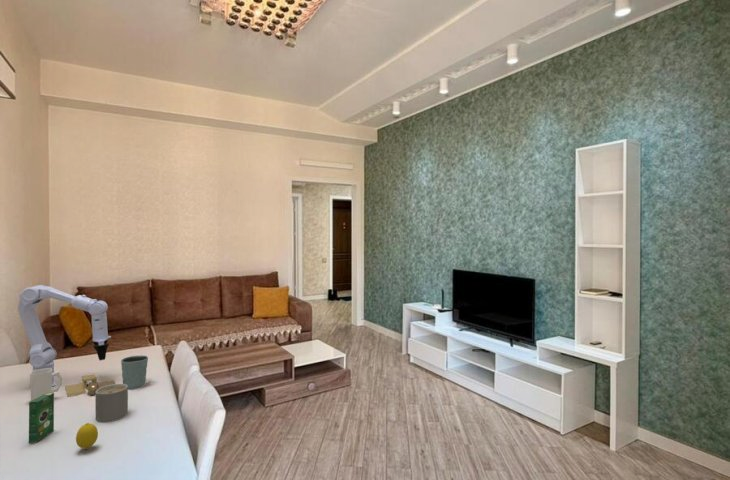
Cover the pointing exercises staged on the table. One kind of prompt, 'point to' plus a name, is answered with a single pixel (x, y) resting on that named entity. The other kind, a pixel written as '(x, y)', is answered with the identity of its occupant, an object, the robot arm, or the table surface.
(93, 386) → the bronze leaf with pin
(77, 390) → the brass leaf
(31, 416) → the coffee box
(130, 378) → the teal cup
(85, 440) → the lemon
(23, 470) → the table surface
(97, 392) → the coffee mug
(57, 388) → the mug
